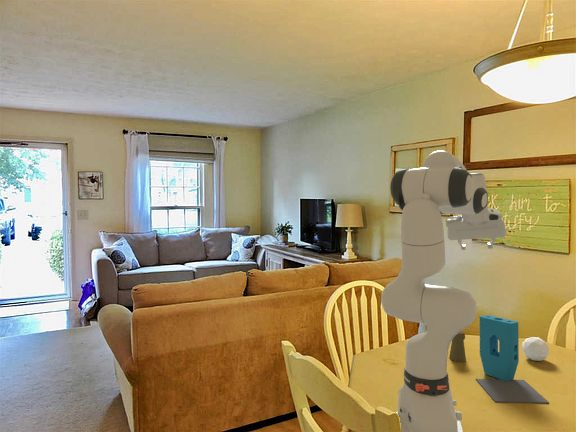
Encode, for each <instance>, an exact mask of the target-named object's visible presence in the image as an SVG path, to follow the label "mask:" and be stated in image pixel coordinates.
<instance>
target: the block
mask: <svg viewBox="0 0 576 432" xmlns="http://www.w3.org/2000/svg"><path fill="white" fill-rule="evenodd" d="M519 341H520V340H519V321H517V320H513V319H508V318H504V317H499V316H495V315H491V314H490V315H489V314H483V315H479V356H480V359H481V364H482V367H483V368H482V369H483V373H484V375H487V376H490V377H493V378H494V379H501V380H503V381H510V380H515V379H514V378H515V375H516V371H517V367H518V365H519V359H520V358H519V357H520V353H519Z"/></svg>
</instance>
